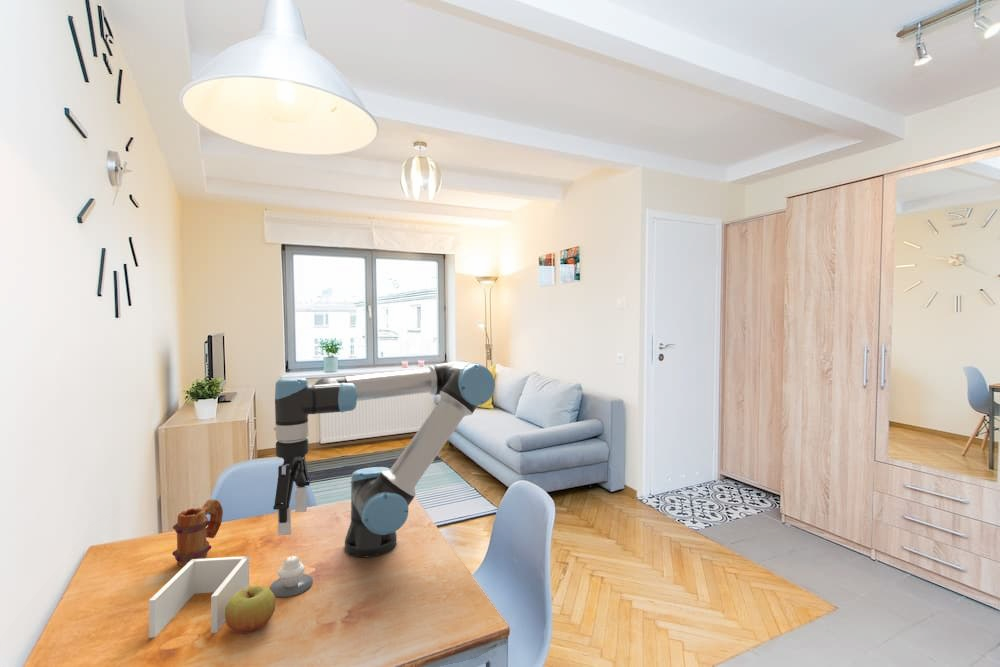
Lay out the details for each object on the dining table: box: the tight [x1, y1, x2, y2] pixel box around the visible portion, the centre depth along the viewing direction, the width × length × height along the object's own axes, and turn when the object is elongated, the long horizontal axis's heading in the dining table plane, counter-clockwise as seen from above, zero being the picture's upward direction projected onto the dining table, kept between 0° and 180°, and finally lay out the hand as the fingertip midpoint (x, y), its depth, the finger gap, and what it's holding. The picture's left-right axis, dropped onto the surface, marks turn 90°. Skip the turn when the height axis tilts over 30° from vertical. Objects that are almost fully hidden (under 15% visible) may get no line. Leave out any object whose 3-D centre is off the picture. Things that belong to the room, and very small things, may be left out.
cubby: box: [148, 555, 250, 639], centre depth 106 cm, size 13×17×8 cm
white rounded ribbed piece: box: [277, 555, 306, 587], centre depth 116 cm, size 6×6×7 cm
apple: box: [225, 585, 276, 634], centre depth 101 cm, size 10×10×8 cm
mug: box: [171, 498, 224, 567], centre depth 130 cm, size 15×8×15 cm, turn 168°
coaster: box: [268, 573, 313, 599], centre depth 117 cm, size 10×10×1 cm
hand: (293, 522), depth 116 cm, fingers open, 13 cm apart
